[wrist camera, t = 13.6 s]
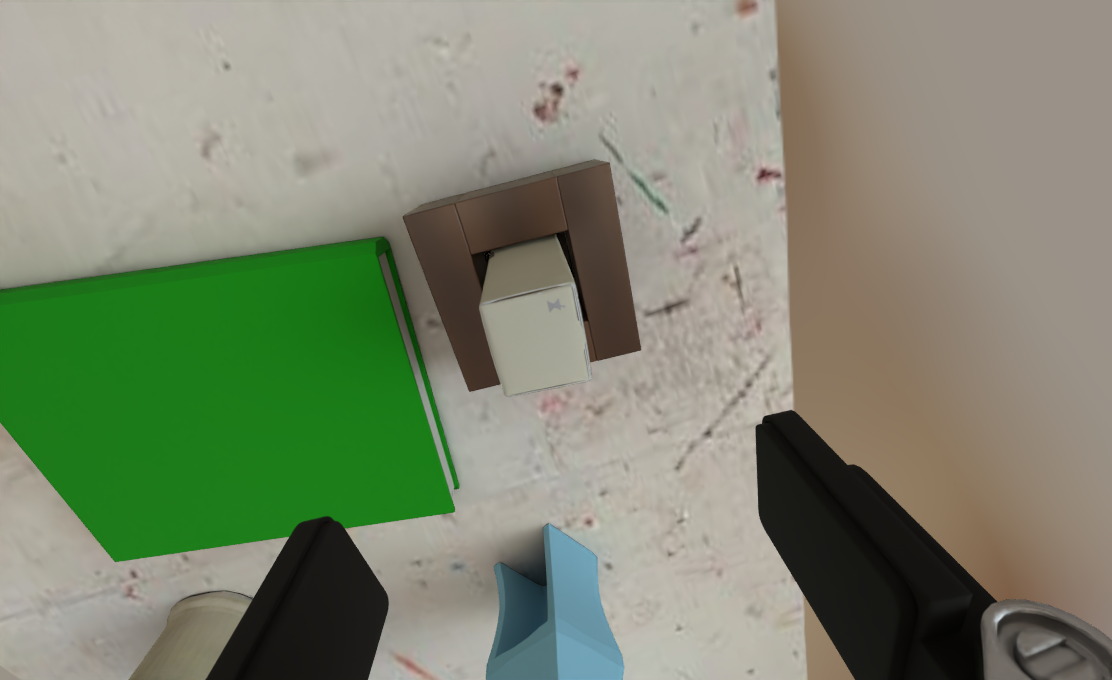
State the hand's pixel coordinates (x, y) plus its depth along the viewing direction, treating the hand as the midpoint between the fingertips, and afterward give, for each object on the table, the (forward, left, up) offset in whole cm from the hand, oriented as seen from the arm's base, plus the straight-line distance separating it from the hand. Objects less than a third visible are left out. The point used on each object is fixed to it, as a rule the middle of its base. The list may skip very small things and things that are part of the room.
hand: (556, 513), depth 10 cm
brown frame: (0, +1, -23) cm, 23 cm away
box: (0, 0, -23) cm, 23 cm away
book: (+24, +6, -23) cm, 34 cm away
